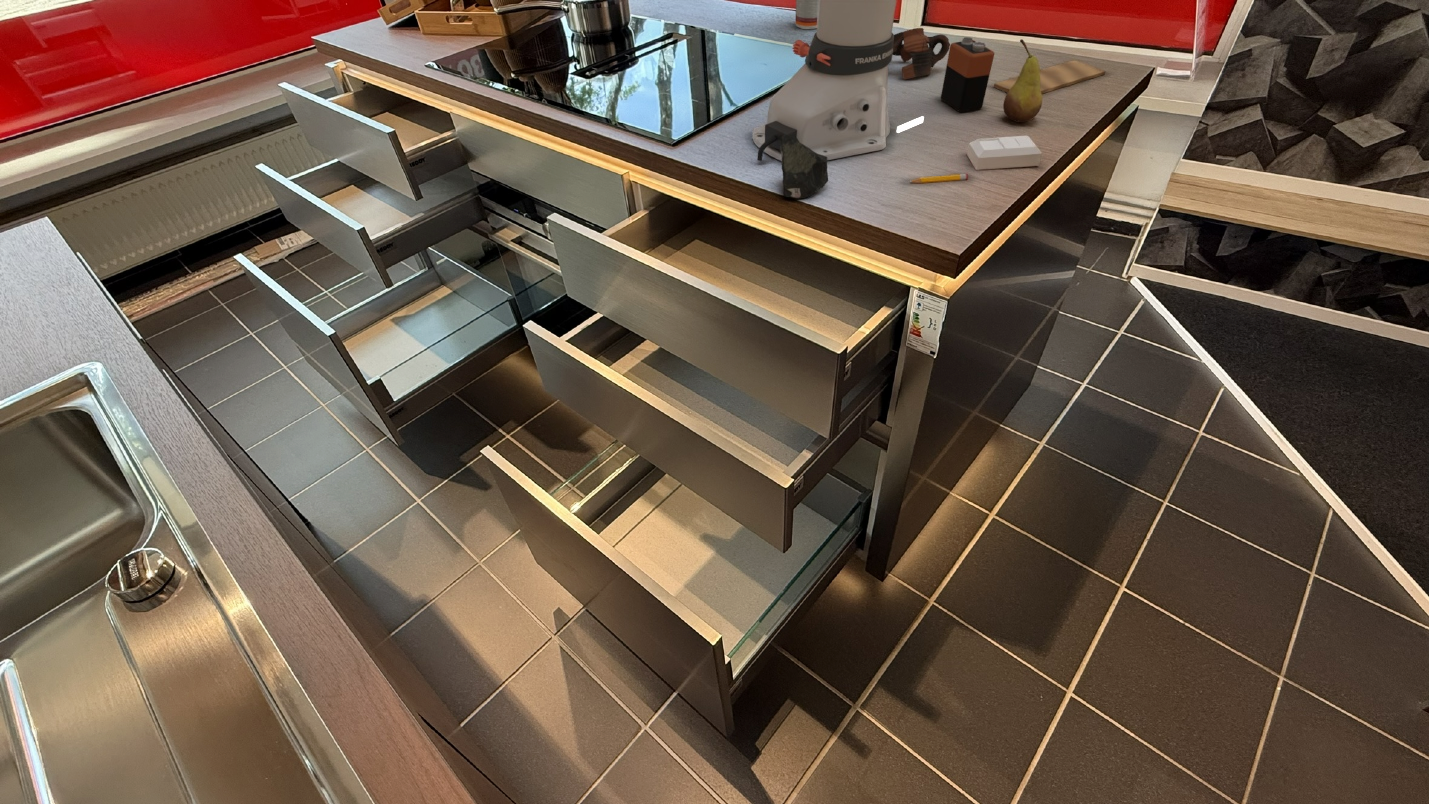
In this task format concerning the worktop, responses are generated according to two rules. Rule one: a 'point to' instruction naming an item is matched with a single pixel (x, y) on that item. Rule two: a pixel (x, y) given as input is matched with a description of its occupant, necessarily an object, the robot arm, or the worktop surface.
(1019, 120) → the fruit
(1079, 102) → the worktop surface
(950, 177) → the pencil
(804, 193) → the rock
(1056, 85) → the wooden board
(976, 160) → the soap bar
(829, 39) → the robot arm
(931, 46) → the pottery mug
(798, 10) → the pill bottle
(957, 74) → the battery
